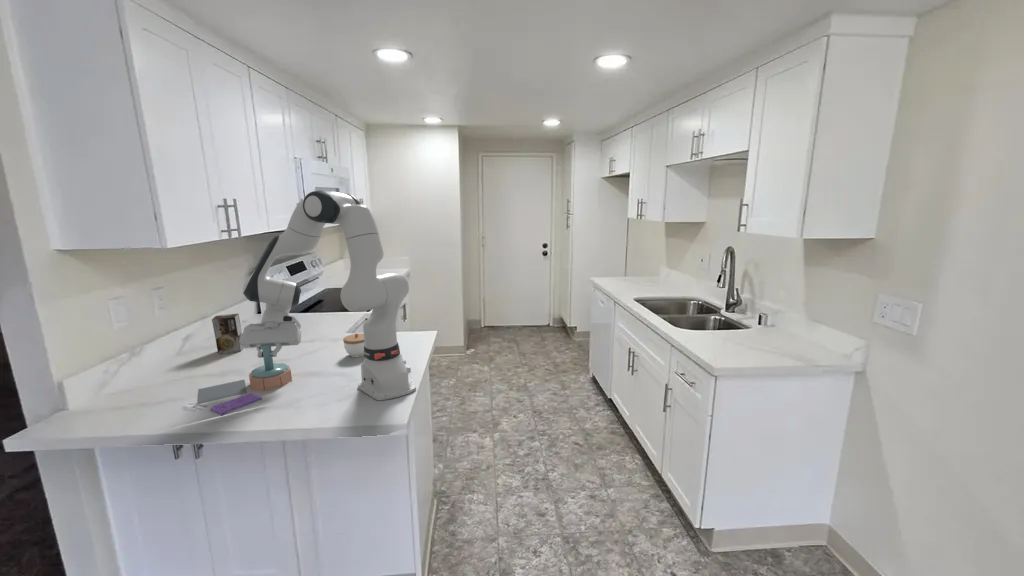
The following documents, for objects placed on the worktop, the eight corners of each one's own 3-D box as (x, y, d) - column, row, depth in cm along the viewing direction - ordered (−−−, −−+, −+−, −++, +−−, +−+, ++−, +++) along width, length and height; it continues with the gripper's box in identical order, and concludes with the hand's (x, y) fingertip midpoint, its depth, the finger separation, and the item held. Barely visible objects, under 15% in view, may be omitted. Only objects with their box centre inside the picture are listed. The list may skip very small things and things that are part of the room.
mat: (246, 394, 150) (246, 392, 150) (197, 405, 142) (197, 404, 142) (244, 380, 161) (244, 379, 161) (198, 390, 154) (198, 389, 154)
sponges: (210, 412, 139) (209, 407, 138) (251, 397, 149) (250, 391, 148) (221, 418, 135) (220, 412, 134) (262, 401, 145) (261, 396, 145)
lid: (289, 373, 156) (286, 346, 154) (252, 381, 150) (248, 353, 148) (285, 363, 165) (282, 338, 163) (250, 370, 159) (246, 344, 157)
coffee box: (244, 347, 199) (239, 313, 196) (241, 351, 193) (235, 316, 190) (221, 349, 196) (216, 315, 193) (217, 354, 190) (211, 318, 187)
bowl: (293, 384, 157) (292, 373, 156) (252, 394, 150) (250, 382, 149) (288, 373, 167) (287, 362, 166) (249, 381, 160) (247, 370, 159)
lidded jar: (363, 359, 180) (360, 338, 178) (339, 358, 182) (337, 337, 180) (376, 350, 190) (374, 330, 188) (353, 349, 192) (351, 329, 190)
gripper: (241, 320, 160) (232, 354, 152) (299, 317, 162) (292, 351, 154) (249, 328, 165) (240, 361, 157) (305, 325, 167) (299, 358, 159)
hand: (266, 356), depth 156 cm, fingers open, 3 cm apart
